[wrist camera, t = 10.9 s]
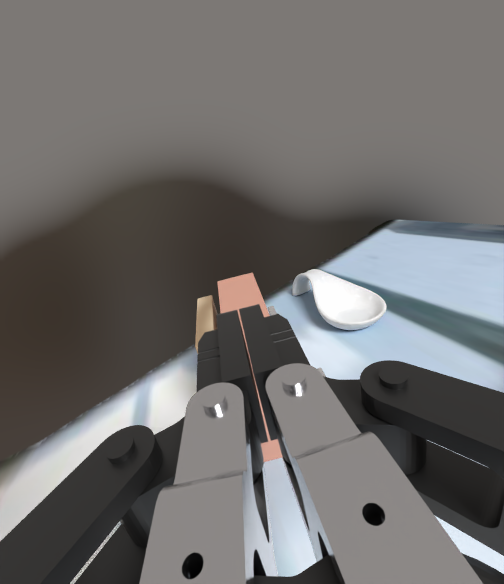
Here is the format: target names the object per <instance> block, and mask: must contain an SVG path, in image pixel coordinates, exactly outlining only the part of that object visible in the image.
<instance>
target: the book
mask: <svg viewBox="0 0 504 584" xmlns="http://www.w3.org/2000/svg"><path fill="white" fill-rule="evenodd" d="M218 290H219V300H220V310H221V313H225V312H229V311H233V310H237V311H238V315H239V319H240V323H241V327H242V330H243V325H242V321H241V317H240V312H239V309H241V308H245V307H249V306H253V305H257V304H259V305H260V307H261V310H262V313H263V315H264V317H267V316H270V315H269V313H268V310H267V308H266V305H265V303H264V300H263V298H262V296H261V293H260V290H259V288H258V285H257V283H256V281H255V278H254V275H253V273H250V274H245V275H242V276H237V277H233V278H229V279H226V280H222V281H218ZM243 334H244V330H243ZM244 338H245V334H244ZM245 342H246V339H245ZM246 346H247V343H246ZM247 350H248V347H247ZM248 354H249V352H248ZM249 358H250V356H249ZM250 362H251V361H250ZM251 367H252V365H251ZM252 371H253V369H252ZM253 376H254V374H253ZM254 380H255V378H254ZM255 384H256V382H255ZM256 389H257V385H256ZM257 393H258V389H257ZM258 398H259V402H260V407H261V411H262V415H263V420H264V424H265V429H266V433H267V438H268V442H265V443H261V447H262V452H263V458H264V462H266V461H270V460H274V459H277V458H281V457H282V453H281V450H280V446H279V442H278V439H276V440H272V441H271V440H270V436H269V432H268V428H267V424H266V420H265V417H264V413H263V409H262V405H261V401H260V397H259V393H258Z"/></svg>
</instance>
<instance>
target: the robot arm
mask: <svg viewBox="0 0 504 584" xmlns="http://www.w3.org/2000/svg"><path fill="white" fill-rule="evenodd" d="M239 312H240V317H241V321H242V325H243V330H244V334H245V338H244V334H243V330H242V327H241V323H240V319H239V315H238V311H237V310H233V311H229V312H225V313H221V314H217V315H216V317H217V329H216V330H212V331H208V332H204V334H203V336H202V337H201V339H200V340H199V342H198V364H197V393H196V394H195V395H194V396H193V397H192V398H191V399H190V401H189V403H188V405H187V408H186V414H185V417H184V418H182V419H181V420H180V421H178V422H177V423H175V424H174V425H172V426H170V427H168V428H166V429H165V430H163V431H161V432H159V433H157V434H155V435H154V434H153V432H152V430H151V429H150V428H148V427H146V426H142V425H135V426H129V427H126V428H123V429H121V430H119V431H117V432H115V433H114V434H112V435H111V436H109V437H108V438H107V439H106V440H105V441H103V442H102V443H101V444H100V445H99V446H98V447H97V448H96V449H95V450H94V451H93V452H92V453H91V454H90V455H89V456H88V457H87V458H86V459H85V460H84V461H83V462H82V463H81V464H80V465H79V466H78V467H77V468H76V469H75V470H74V471H73V472H71V473H70V474H69V475H68V476H67V477H66V478H65V479H64V480H63V481H62V482H61V483H60V484H59V485H58V486H57V487H56V488H55V489H54V490H53V491H52V492H51V493H50V494H49V495H48V496H47V497H46V498H45V499H44V500H43V501H42V502H41V503H40V504H39V505H37V506H36V507H35V508H34V509H33V510H32V511H31V512H30V513H29V514H28V515H27V516H26V517H25V518H24V519H23V520H22V521H21V522H20V523H19V524H18V525H17V526H16V527H15V528H14V529H13V530H12V531H11V532H10V533H9V534H8V535H7V536H6V537H5V538H4V539H2V540H1V541H0V584H70V582H71V581H72V580H73V578H74V577H75V576H76V575H77V573H78V572H79V571H80V570H81V568H82V567H83V566H84V565H85V563H86V562H87V561H88V560H89V558H90V557H91V556H92V555H93V553H94V552H95V551H96V550H97V548H98V547H99V546H100V545H101V543H102V542H103V541H104V540H105V538H106V537H107V536H108V535H109V533H110V532H111V531H112V530H113V528H114V527H115V526H116V525H117V523H118V522H119V521H120V522H121V525H120V527H119V528H118V529H117V530H116V532H115V533H114V534H113V535H112V537H111V538H110V539H109V541H108V542H107V543H106V544H105V546H104V547H103V548H102V549H101V551H100V552H99V553H98V554H97V556H96V557H95V558H94V559H93V561H92V562H91V563H90V565H89V566H88V567H87V568H86V570H85V571H84V572H83V573H82V575H81V576H80V577H79V578H78V580H77V581H76V582H75V584H504V574H502V573H501V572H499V571H498V570H496V569H494V568H492V567H490V566H488V565H486V564H484V563H483V562H481V561H479V560H477V559H474V558H472V557H470V556H467V555H465V554H462V553H461V552H460V551H459V549H458V548H457V546H456V545H455V544H454V542H453V541H452V540H451V538H450V537H449V535H448V534H447V533H446V531H445V530H444V528H443V527H442V526H441V524H440V523H439V521H438V520H437V519H436V517H435V516H437V517H438V518H440V519H442V520H444V521H445V522H447V523H449V524H450V525H452V526H454V527H455V528H457V529H459V530H461V531H462V532H464V533H466V534H467V535H469V536H471V537H472V538H474V539H476V540H478V541H479V542H481V543H483V544H484V545H486V546H488V547H490V548H491V549H493V550H495V551H496V552H498V553H500V554H501V555H503V556H504V393H502V392H499V391H496V390H493V389H489V388H486V387H483V386H479V385H476V384H473V383H470V382H466V381H463V380H460V379H457V378H453V377H450V376H447V375H443V374H440V373H437V372H434V371H430V370H427V369H424V368H420V367H417V366H414V365H411V364H407V363H404V362H400V361H380V362H376V363H373V364H371V365H369V366H368V367H366V368H365V369H364V370H363V372H362V373H361V376H360V380H337V379H331V378H327V377H324V376H322V374H321V373H320V372H319V371H318V370H317V369H316V368H314V367H312V366H311V365H310V364H309V362H308V360H307V358H306V356H305V354H304V352H303V350H302V348H301V346H300V344H299V342H298V340H297V338H296V336H295V334H294V332H293V330H292V328H291V326H290V324H289V322H288V320H287V319H285V318H284V317H282V316H280V315H279V314H275V315H271V316H267V317H264V315H263V313H262V310H261V307H260V305H259V304H257V305H253V306H249V307H245V308H241V309H239ZM245 339H246V342H245ZM246 343H247V346H246ZM247 347H248V350H247ZM248 352H249V354H248ZM249 356H250V358H249ZM250 361H251V362H250ZM251 365H252V367H251ZM252 369H253V371H252ZM253 374H254V376H253ZM254 378H255V380H254ZM255 382H256V384H255ZM256 385H257V389H258V393H259V397H260V401H261V405H262V409H263V413H264V417H265V420H266V424H267V428H268V432H269V436H270V440H271V441H272V440H276V439H278V442H279V446H280V450H281V453H282V457H283V462H284V466H285V469H286V472H287V475H288V478H289V481H290V483H291V486H292V489H293V492H294V495H295V498H296V501H297V504H298V506H299V509H300V512H301V515H302V518H303V521H304V524H305V527H306V529H307V532H308V535H309V538H310V541H311V544H312V547H313V551H314V554H315V557H316V561H317V562H316V563H315V564H313V565H312V566H310V567H309V568H308V569H306V570H305V571H303V572H302V573H300V574H298V575H296V576H293V577H279V576H278V571H277V567H276V561H275V555H274V548H273V540H272V531H271V522H270V513H269V504H268V495H267V486H266V477H265V470H264V466H263V464H264V458H263V452H262V447H261V443H265V442H268V438H267V433H266V429H265V424H264V420H263V415H262V411H261V407H260V402H259V398H258V393H257V389H256ZM427 440H429V441H427ZM430 441H431V442H430ZM432 442H433V443H432ZM434 443H436V444H438V445H436V444H434ZM439 445H440V446H439ZM441 446H442V447H441ZM443 447H445V448H447V449H445V448H443ZM448 449H449V450H448ZM450 450H451V451H450ZM452 451H454V452H456V453H458V454H456V453H454V452H452ZM459 454H460V455H459ZM461 455H463V456H465V457H467V458H465V457H463V456H461ZM468 458H469V459H468ZM470 459H472V460H474V461H476V462H474V461H472V460H470ZM477 462H478V463H477ZM479 463H481V464H483V465H485V466H483V465H481V464H479ZM486 466H487V467H486ZM488 467H489V468H488ZM434 515H435V516H434Z"/></svg>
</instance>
